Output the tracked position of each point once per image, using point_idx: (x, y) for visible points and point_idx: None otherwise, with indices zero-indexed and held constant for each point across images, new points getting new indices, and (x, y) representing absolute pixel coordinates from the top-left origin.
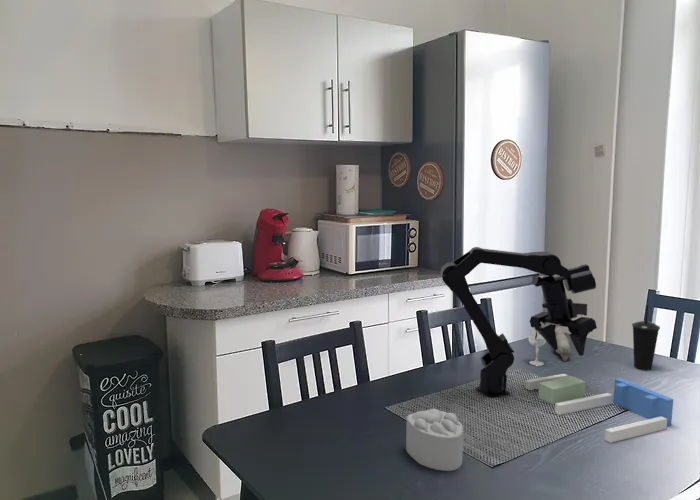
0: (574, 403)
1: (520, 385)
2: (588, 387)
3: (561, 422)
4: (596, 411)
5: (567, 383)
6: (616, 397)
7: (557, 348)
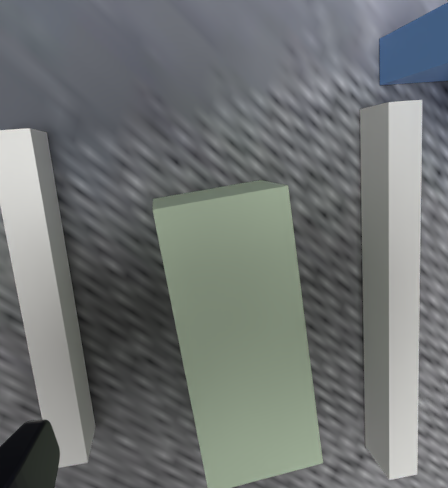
0: (414, 384)
1: (4, 432)
2: (143, 40)
3: (442, 467)
4: (422, 255)
5: (273, 328)
6: (420, 77)
7: (44, 428)
